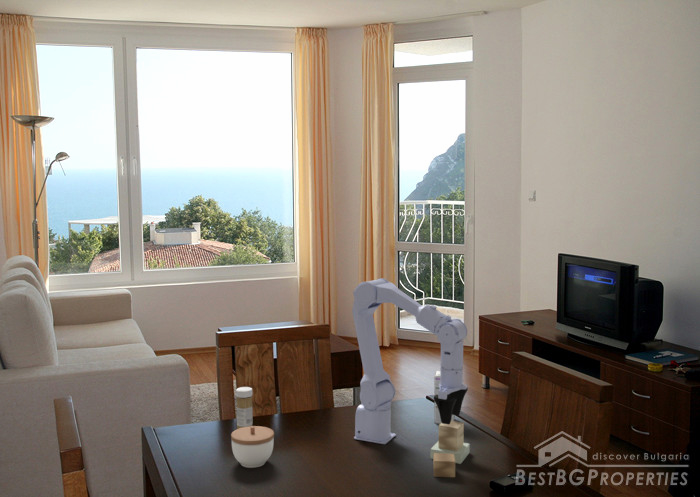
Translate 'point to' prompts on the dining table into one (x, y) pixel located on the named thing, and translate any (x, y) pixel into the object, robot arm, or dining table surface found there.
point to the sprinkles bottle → (244, 407)
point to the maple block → (451, 435)
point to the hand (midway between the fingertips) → (450, 419)
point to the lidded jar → (252, 445)
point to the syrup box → (436, 410)
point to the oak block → (444, 465)
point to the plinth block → (452, 452)
